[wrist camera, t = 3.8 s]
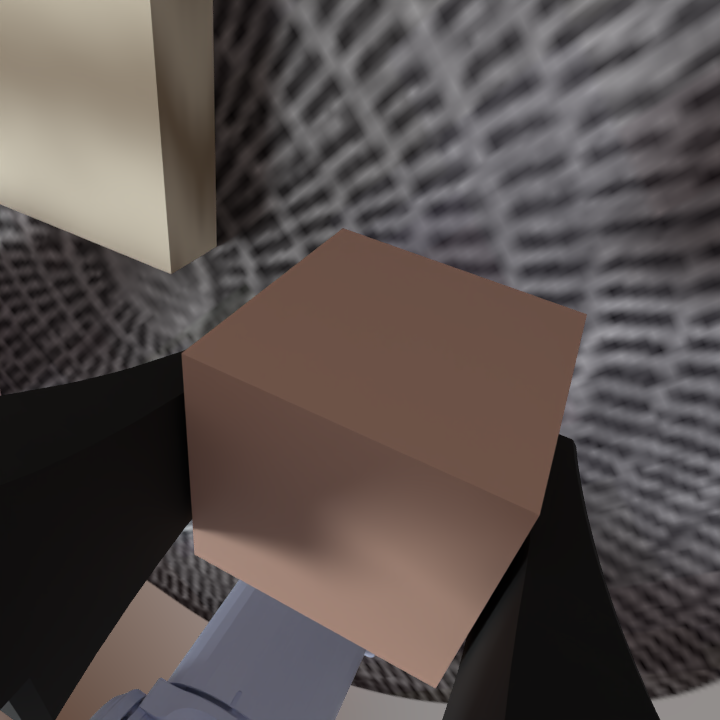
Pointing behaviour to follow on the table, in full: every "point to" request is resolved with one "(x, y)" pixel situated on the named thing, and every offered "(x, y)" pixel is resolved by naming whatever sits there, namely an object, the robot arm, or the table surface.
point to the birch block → (112, 122)
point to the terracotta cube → (377, 442)
